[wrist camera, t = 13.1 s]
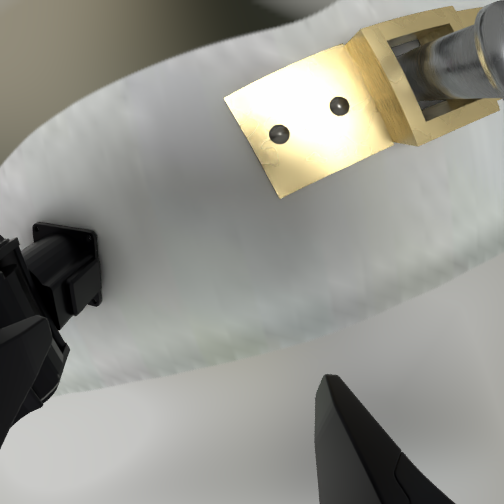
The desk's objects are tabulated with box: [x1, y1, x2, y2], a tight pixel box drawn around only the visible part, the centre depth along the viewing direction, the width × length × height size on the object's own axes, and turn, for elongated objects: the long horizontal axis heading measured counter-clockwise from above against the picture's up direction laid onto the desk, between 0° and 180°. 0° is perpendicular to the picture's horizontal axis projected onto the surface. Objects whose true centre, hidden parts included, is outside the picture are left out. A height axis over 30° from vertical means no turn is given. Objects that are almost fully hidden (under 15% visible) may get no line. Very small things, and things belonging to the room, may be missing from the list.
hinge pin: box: [396, 0, 504, 102], centre depth 11 cm, size 4×4×12 cm
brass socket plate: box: [224, 6, 502, 199], centre depth 14 cm, size 23×7×4 cm, turn 119°
